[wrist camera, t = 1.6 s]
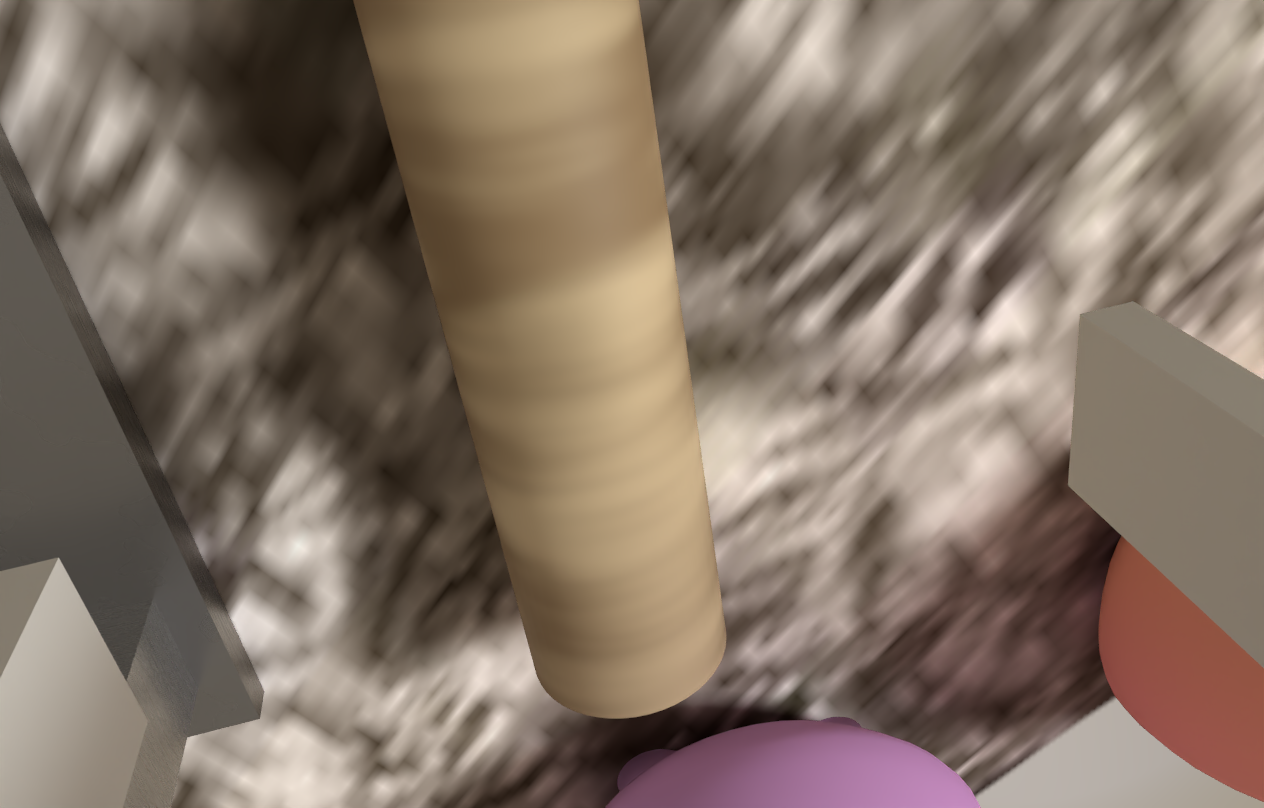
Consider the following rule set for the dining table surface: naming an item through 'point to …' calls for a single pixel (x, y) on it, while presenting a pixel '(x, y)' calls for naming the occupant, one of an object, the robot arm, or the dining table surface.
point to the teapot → (792, 771)
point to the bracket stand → (104, 505)
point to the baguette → (562, 328)
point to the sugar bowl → (1181, 673)
